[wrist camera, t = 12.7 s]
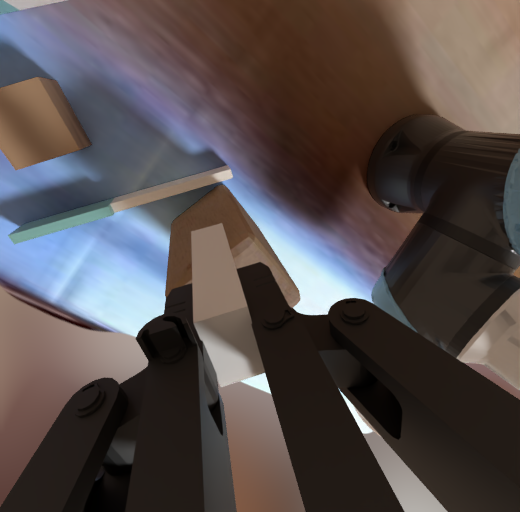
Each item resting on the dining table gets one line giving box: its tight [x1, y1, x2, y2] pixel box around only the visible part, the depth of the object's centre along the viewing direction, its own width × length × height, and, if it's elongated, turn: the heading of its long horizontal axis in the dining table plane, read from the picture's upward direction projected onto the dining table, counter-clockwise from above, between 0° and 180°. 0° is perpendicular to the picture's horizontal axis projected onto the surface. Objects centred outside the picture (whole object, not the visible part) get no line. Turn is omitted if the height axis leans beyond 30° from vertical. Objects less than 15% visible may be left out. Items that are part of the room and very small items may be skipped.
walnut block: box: [0, 77, 92, 170], centre depth 31 cm, size 7×7×5 cm
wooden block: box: [165, 185, 300, 307], centre depth 35 cm, size 10×10×20 cm
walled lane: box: [0, 0, 233, 244], centre depth 32 cm, size 28×22×4 cm
